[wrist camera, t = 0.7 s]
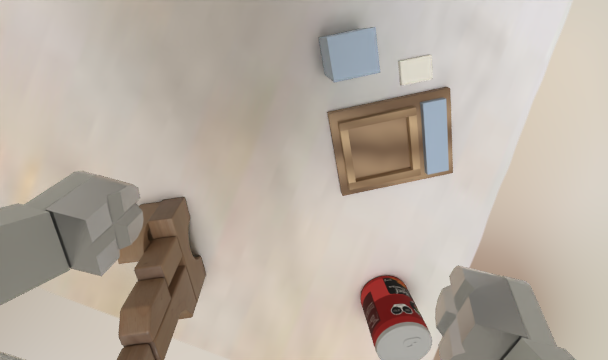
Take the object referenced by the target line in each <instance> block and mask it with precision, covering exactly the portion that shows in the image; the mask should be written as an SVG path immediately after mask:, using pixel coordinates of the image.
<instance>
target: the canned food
mask: <svg viewBox="0 0 608 360" xmlns="http://www.w3.org/2000/svg"><path fill="white" fill-rule="evenodd" d="M361 304H362V307H363V310H364V314H365V317H366V320H367V323H368V327H369V330H370V333H371V337H372V340H373V343H374V346H375V349H376V352H377V354H378V356H379V358H380V359H381V360H420V359H421V358H423V357H424V356H425V355H426V354H427V353H428V351H429V350H430V348H431V345H432V337H431V335H430V332H429V330H428V328H427V326H426V324H425V322H424V320H423V318H422V316H421V314H420V312H419V310H418V308H417V307H416V305H415V303H414V301H413V299H412V297H411V295H410V293H409V291H408V289H407V287H406V285H405V284H404V283H403V282H402V281H401V280H399V279H398V278H396V277H393V276H380V277H377V278H375V279H373V280H371V281H369V282H368V283H367V284H366V285H365V287H364V288H363V290H362V293H361Z"/></svg>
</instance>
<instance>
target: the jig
mask: <svg viewBox="0 0 608 360" xmlns="http://www.w3.org/2000/svg"><path fill="white" fill-rule="evenodd" d="M438 98H446V106H447V133H448V160H449V170H448V171H443V172H439V173H434V174H429V175H427V174H426V173H425V168H424V153H423V138H422V123H421V108H420V102H424V101H429V100H433V99H438ZM327 113H328V118H329V124H330V130H331V136H332V142H333V147H334V153H335V159H336V165H337V170H338V176H339V182H340V188H341V193H342V195H343V196H344V195H349V194H354V193H359V192H364V191H368V190H373V189H378V188H383V187H387V186H392V185H397V184H402V183H407V182H411V181H416V180H421V179H426V178H430V177H435V176H440V175H445V174H450V173H453V162H452V131H451V100H450V88H448V87H443V88H439V89H434V90H429V91H425V92H420V93H415V94H411V95H406V96H401V97H396V98H392V99H387V100H382V101H378V102H373V103H368V104H364V105H359V106H354V107H350V108H345V109H340V110H335V111H331V112H327Z"/></svg>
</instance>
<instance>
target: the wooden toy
mask: <svg viewBox="0 0 608 360" xmlns="http://www.w3.org/2000/svg"><path fill="white" fill-rule="evenodd" d="M139 208H140V209H141V210H142V211H143V218H144V219H143V227H142V229H141V231H140V233H139V236H138V237H137V239H136V240H135V241H134V242H133V243H132V244H131V245H129V246H127V247H125V248H122V249H120V257H119V258H118V262H119V264H122V263H130V262H137V261H139V262H138V264H137V265H136V267H135V273H136V276H137V279H138V282H136V284H135V286H134V288H133V289H132V291H131V293H130V294H129V296H128V298H127V300H126V301H125V303H124V305H123V306H122V308H121V311H120V324H119V339H120V341H121V344H122V345H123V346H124V348H123V349H122V350H121V352H120V354H119V356H118V358H117V360H164V358H165V355H166V353H167V350H168V347H169V344H170V342H171V339H172V336H173V333H174V330H175V327H176V325H177V322H178V319H184V318H191V317H192V316H193V313H194V310H195V307H196V304H197V301H198V298H199V295H200V292H201V288H202V285H203V282H204V279H205V276H206V273H205V270H204V266H203V262H202V259H201V256H197V257H193V255H192V252H191V249H190V244H189V236H188V228H189V221H190V215H189V212H188V208H187V205H186V201H185V198H184V197H182V198H174V199H167V200H163V201H162V202H156V203H148V204H141V205H140V206H139Z"/></svg>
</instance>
